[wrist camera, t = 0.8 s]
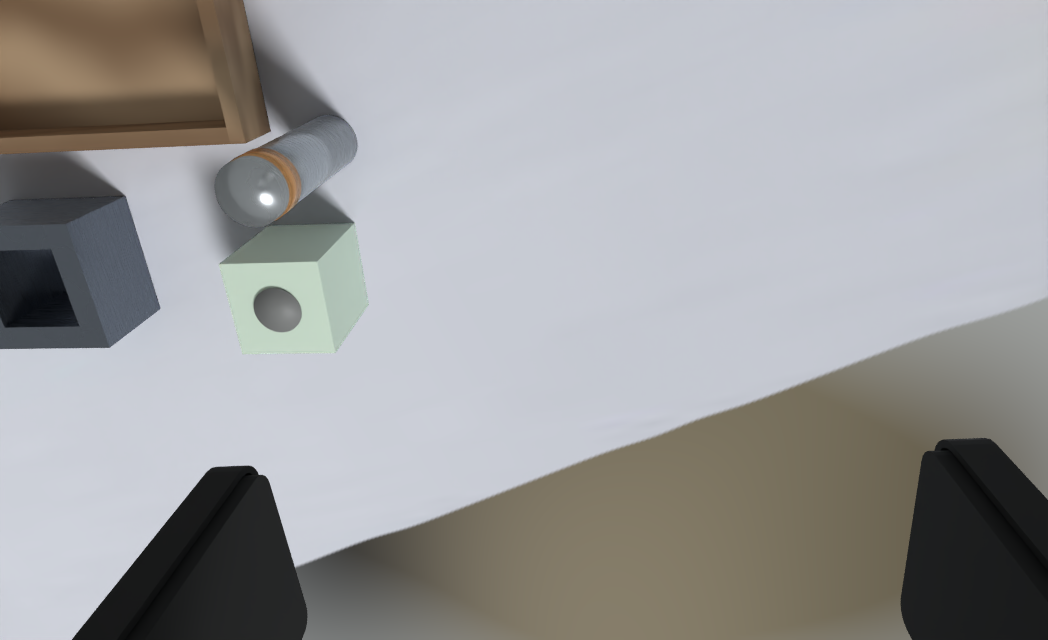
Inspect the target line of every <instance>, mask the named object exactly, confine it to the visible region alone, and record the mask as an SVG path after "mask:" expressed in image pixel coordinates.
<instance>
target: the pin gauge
mask: <svg viewBox="0 0 1048 640" xmlns="http://www.w3.org/2000/svg"><path fill="white" fill-rule="evenodd" d="M356 152H357V138H356V135H355V133H354V131H353V129H352V128H351V126H350V125H349V124H348V123H347V122H346V121H344V120H343V119H341V118H339V117H337V116H334V115H322V116H319V117H317V118H315V119H313V120H311V121H309V122H307V123H305V124H303V125H301V126H299V127H297V128H296V129H294V130H292V131H290V132H288V133H286V134H284V135H282V136H280V137H278V138H276V139H274V140H272V141H270V142H268V143H266V144H264V145H262V146H260V147H258V148H256V149H252V150H250V151H248V152H246V153H244V154H242V155H240V156H238V157H236V158H234V159H233V160H232V161H230V162H229V163H227V164H226V165H224V166H223V167H222V168H221V170H220V171H219V172H218V174H217V177H216V180H215V194H216V198H217V201H218V203H219V205H220V207H221V208H222V210H223V211H224V212H225V213H226V214H227V215H228V216H229V217H230V218H231V219H232V220H234V221H235V222H237V223H239V224H241V225H244V226H247V227H255V228H257V227H263V226H266V225H269V224H270V223H272V222H273V221H276V220H278V219H279V218H281V217H282V216H283V215H284V214H286V213H287V212H288V211H290V210H291V209H292V208H293V207H294V206H295V205H296V204H297V203H298V202H299V201H301V200H302V199H303V198H305V197H306V196H307V195H309V194H310V193H311V192H312V191H314V190H315V189H316V188H318V187H319V186H320V185H322V184H323V183H324V182H326V181H327V180H328V179H329V178H331V177H332V176H333V175H335V174H336V173H337V172H339V171H340V170H341V169H342V168H344V167H345V166H346V165H348V164H349V163H350V162H351V161H352V160H353V159H354V157H355V155H356Z"/></svg>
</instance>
